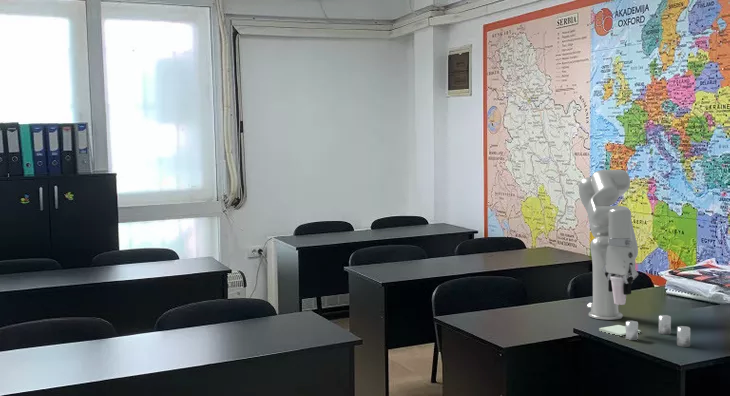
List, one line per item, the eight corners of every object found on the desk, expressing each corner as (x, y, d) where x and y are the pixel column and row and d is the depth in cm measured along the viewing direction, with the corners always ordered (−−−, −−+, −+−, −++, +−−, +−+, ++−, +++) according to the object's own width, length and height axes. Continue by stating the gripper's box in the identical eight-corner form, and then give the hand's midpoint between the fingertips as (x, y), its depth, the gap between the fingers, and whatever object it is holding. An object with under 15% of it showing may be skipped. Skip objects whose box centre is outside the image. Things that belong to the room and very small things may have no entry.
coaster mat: (598, 330, 257) (598, 328, 257) (618, 327, 262) (618, 324, 262) (620, 336, 248) (620, 334, 248) (640, 333, 253) (640, 330, 253)
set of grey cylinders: (623, 338, 246) (623, 321, 245) (663, 331, 255) (663, 314, 255) (667, 351, 229) (667, 332, 229) (709, 342, 239) (709, 324, 239)
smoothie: (629, 305, 250) (629, 266, 249) (610, 305, 252) (610, 265, 251) (629, 302, 256) (628, 263, 255) (610, 301, 258) (610, 263, 257)
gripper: (646, 244, 247) (646, 295, 248) (608, 239, 262) (608, 288, 263) (631, 245, 244) (631, 297, 244) (593, 241, 259) (593, 290, 260)
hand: (619, 292), depth 254 cm, fingers closed on smoothie, 6 cm apart
